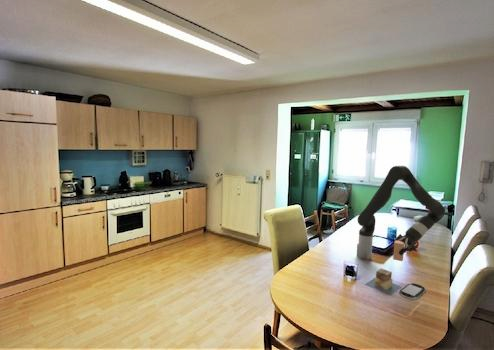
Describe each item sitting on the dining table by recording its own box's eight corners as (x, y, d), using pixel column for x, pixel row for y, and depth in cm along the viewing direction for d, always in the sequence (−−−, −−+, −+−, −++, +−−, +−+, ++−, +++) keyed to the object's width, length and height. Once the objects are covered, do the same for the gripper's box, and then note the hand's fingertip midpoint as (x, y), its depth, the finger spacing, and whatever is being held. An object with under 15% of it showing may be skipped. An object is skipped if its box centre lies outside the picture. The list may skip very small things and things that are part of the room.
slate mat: (364, 285, 160) (364, 284, 160) (376, 278, 170) (376, 276, 170) (390, 296, 149) (390, 295, 149) (402, 287, 159) (402, 286, 158)
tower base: (374, 285, 160) (374, 277, 159) (379, 281, 164) (380, 274, 164) (386, 289, 155) (387, 282, 154) (391, 286, 159) (392, 278, 159)
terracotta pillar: (393, 259, 158) (394, 242, 157) (394, 256, 162) (395, 240, 161) (402, 261, 155) (403, 244, 154) (403, 258, 159) (404, 242, 158)
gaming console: (414, 303, 144) (414, 298, 144) (396, 295, 151) (396, 291, 150) (427, 291, 156) (427, 287, 156) (410, 284, 163) (410, 280, 163)
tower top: (376, 277, 159) (376, 271, 159) (380, 274, 163) (381, 268, 163) (386, 281, 155) (387, 275, 154) (391, 278, 159) (391, 271, 158)
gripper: (404, 223, 164) (384, 243, 164) (421, 231, 150) (399, 252, 150) (412, 232, 165) (392, 251, 165) (430, 240, 151) (408, 261, 151)
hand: (395, 251), depth 158 cm, fingers closed on terracotta pillar, 6 cm apart
